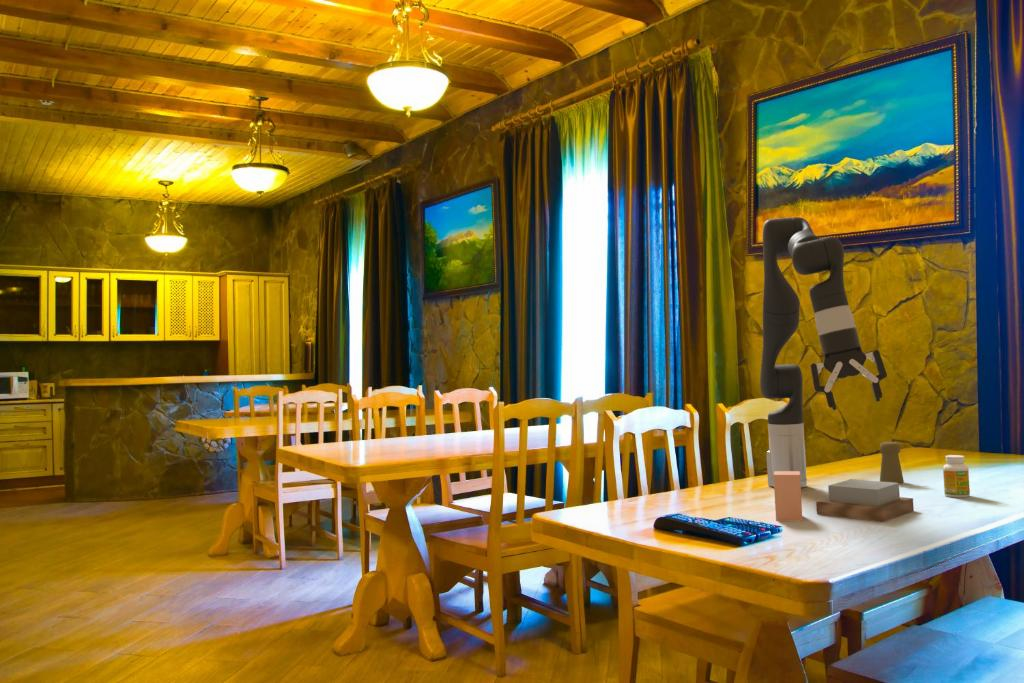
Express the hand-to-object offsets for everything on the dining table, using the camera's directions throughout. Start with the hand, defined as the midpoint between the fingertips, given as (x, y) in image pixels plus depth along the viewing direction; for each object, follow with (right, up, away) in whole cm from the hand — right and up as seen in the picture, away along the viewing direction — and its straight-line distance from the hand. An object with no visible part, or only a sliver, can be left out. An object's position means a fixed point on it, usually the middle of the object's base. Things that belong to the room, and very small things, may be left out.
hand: (856, 405), depth 168 cm
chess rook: (+32, -25, +51) cm, 65 cm away
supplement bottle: (+36, -24, +27) cm, 52 cm away
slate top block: (+8, -22, +13) cm, 27 cm away
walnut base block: (+8, -26, +13) cm, 30 cm away
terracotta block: (-10, -26, +11) cm, 30 cm away
